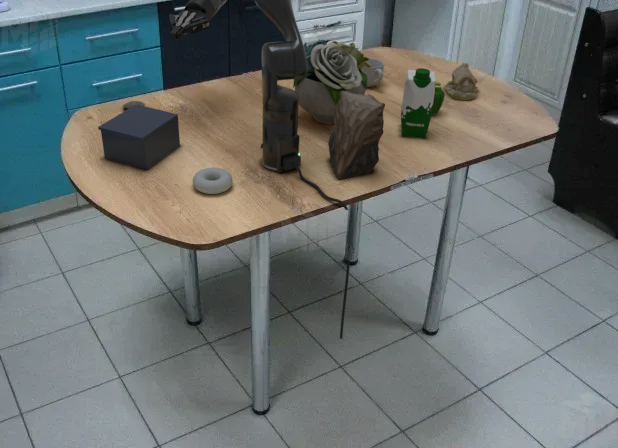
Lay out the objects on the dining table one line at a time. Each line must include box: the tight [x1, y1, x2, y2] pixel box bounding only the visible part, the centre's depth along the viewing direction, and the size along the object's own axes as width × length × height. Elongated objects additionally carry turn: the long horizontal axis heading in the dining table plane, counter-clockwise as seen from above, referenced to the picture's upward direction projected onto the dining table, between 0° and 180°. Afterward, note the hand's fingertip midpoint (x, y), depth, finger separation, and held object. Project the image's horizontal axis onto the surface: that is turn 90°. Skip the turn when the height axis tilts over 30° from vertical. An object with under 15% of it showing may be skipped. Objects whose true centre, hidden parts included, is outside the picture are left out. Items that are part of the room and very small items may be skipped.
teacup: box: [361, 57, 385, 88], centre depth 227 cm, size 14×11×8 cm
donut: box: [192, 167, 233, 195], centre depth 169 cm, size 10×3×10 cm
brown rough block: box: [327, 91, 386, 181], centre depth 176 cm, size 13×13×20 cm
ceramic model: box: [444, 62, 478, 101], centre depth 225 cm, size 14×11×10 cm
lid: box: [97, 104, 179, 141], centre depth 178 cm, size 16×14×1 cm
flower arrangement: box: [292, 39, 371, 125], centre depth 199 cm, size 25×25×24 cm
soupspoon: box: [122, 100, 146, 109], centre depth 200 cm, size 22×3×7 cm
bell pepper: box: [431, 82, 446, 116], centre depth 210 cm, size 8×8×10 cm
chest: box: [100, 116, 181, 171], centre depth 181 cm, size 16×14×9 cm
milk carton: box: [400, 67, 437, 139], centre depth 195 cm, size 9×9×20 cm
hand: (173, 37), depth 182 cm, fingers closed
